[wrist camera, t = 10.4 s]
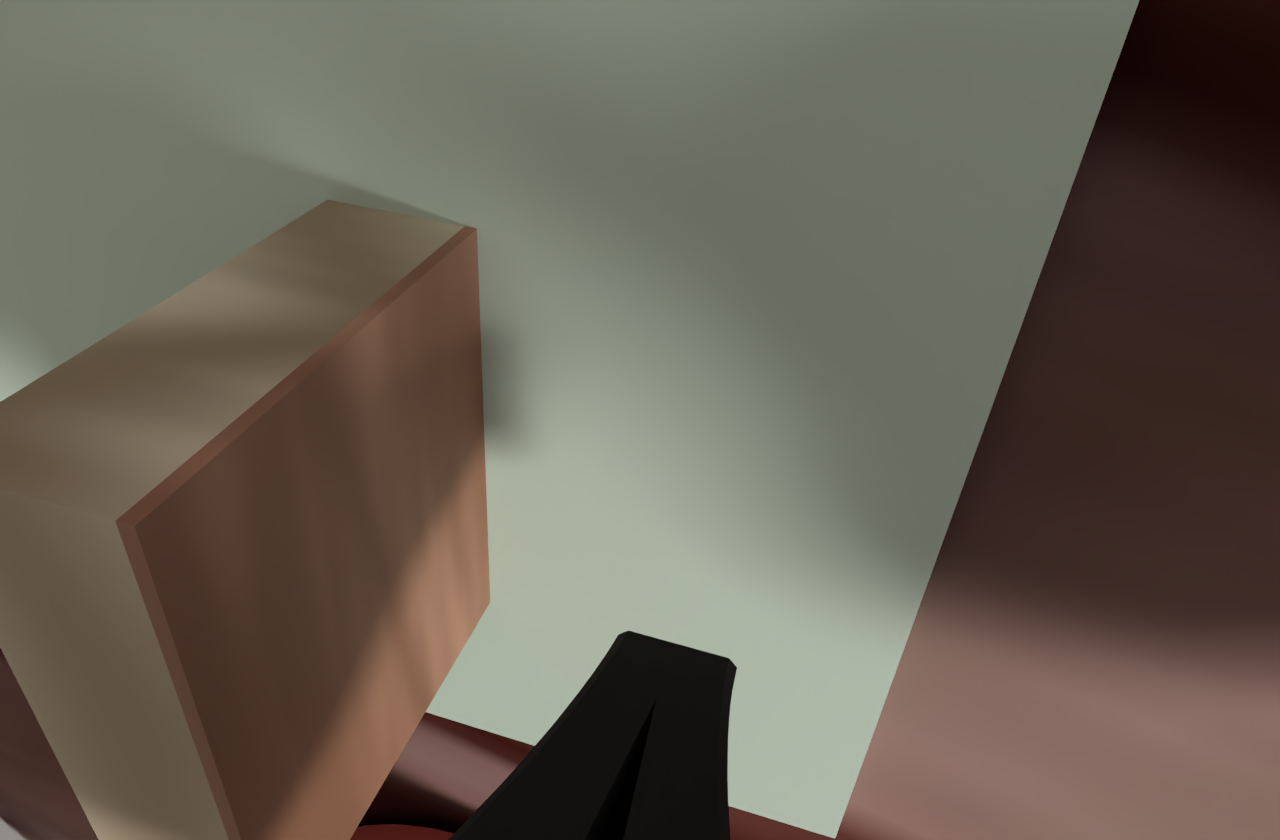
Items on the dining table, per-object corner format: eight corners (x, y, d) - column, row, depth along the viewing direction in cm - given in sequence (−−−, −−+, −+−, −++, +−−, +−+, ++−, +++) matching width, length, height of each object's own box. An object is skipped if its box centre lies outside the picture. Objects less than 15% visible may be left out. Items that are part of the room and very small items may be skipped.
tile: (476, 228, 13) (134, 525, 8) (490, 602, 18) (281, 956, 12) (327, 199, 14) (-96, 461, 8) (378, 570, 18) (127, 898, 13)
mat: (1196, -182, 9) (1206, -182, 9) (837, 821, 19) (835, 838, 19) (-321, -313, 13) (-353, -316, 12) (62, 584, 23) (49, 595, 23)
